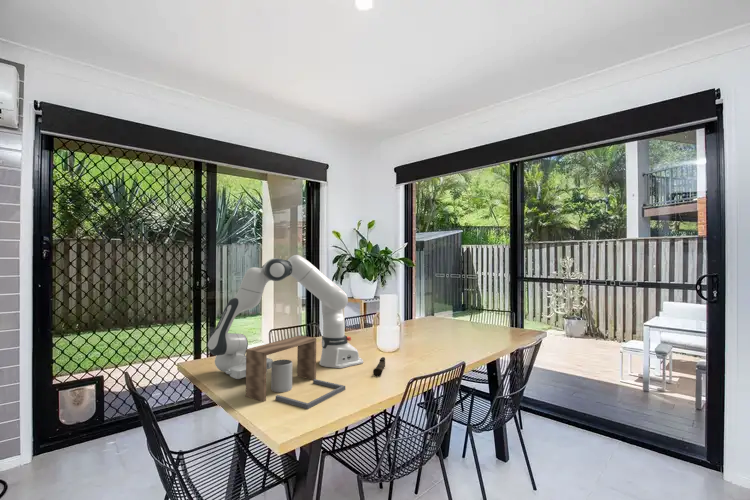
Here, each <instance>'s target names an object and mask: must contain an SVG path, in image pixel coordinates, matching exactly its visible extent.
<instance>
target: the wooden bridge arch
mask: <svg viewBox="0 0 750 500" xmlns="http://www.w3.org/2000/svg"><path fill="white" fill-rule="evenodd" d="M296 347H297V360H296V363H297V366H296V367H297V371H296V372H297V373H296V374H297V375H296V376H297V377H298V378H304V379H308V380H312V381H313V380H314V379H317V337H312V336H306V335H296V336H292V337H288V338H285V339H280V340H276V341H274V342H269V343H265V344H262V345H258V346H254V347H250V348H249V347H248V348H247V349H246V354H245V356H246V377H245V397H246V398H250V399H252V400H256V401H259V402H263V403H264V402H266V401H267V372H266V365H267V358H268V357H267V356H270V355H271V354H272V355H273V354H276V353H280V352H282V351H287V350H290V349H293V348H296Z"/></svg>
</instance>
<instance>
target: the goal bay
mask: <svg viewBox="0 0 750 500" xmlns="http://www.w3.org/2000/svg"><path fill="white" fill-rule="evenodd" d="M312 383H313V384H314V385H318V386H323V387H328V388H331V389H333V390H331V391H329V392H327V393H325V394H323V395H321V396H319V397H317V398H315V399H314V400H313V399H312V400H311V401H309V402H305V401H301V400H298V399H294V398H290V397H286V396H283V395H278V394H277V395H275V401H278V402H281V403H285V404H289V405H291V406H292V405H293V406H295V407H299V408H301V409H302V408H303V409H306V410H309V409H311V408H314V407H315V406H316V405H318V404H320V403H322V402H325V401H326V400H328V399H330V398H332V397H334V396H336V395H338V394H340V393H342V392H343V391H346V385H342V384H338V383H333V382H329V381H325V380H320V379H318V378H316V379H314V380H312Z"/></svg>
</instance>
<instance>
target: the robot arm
mask: <svg viewBox="0 0 750 500" xmlns="http://www.w3.org/2000/svg"><path fill="white" fill-rule="evenodd" d="M289 276H290V277H292V278H293V279H295V280H296V281H297V282H298V283H299V284H300V285H302V286H303V287H304V288H305V289H306V290H307V291H309V293H311V294H312V295H313V296H314V297H316V298H317V299H318V300H319V301H320V302H321V303H320V304H321V312H322V313H321V315H322V336H321V347H322V349H321V357H320V361H319V364H318V365H320V366H322V367H324V368H336V369H343V368H348V367H353V366H356V365H359V364H360V365H361V364H363V363H364V360H363V358H361V357H360V356H359V351H358V349H357V348H356V347H354V346H353V345H352V344H351V343H349V342H351V340H352V337H351V336H348V335H345V333H346V332H345V330H346V329H345V325H346V324H345V321H346V320H345V316H344V309H345V308H346V307H347V305H348V303H349V298H348V295H347V293H346V292H345V291H344V289H342V288H341V287H339V285H337V284H336V283H335V282H334V281H332V280H331V279H330V278H329V277H327V276H326V275H325V274H324V273H322V272H321V271H320V269H318V268H317V267H316V266H315V265H314V264H312V263H311V262H310V261H309V260H307V258H305V257H303V256H302V255H300V254H294V255H291V256H290V257H289V258H288V259H283V258H276V257H275V258H274V257H273V258H271V259H268V260H267V261H266V262H265V263H264V264H263V265H262V266H261V267H257V266H256V267H255V266H253V267H250V268H248V269H246V271H245V273H244V276H243V278H242V279H241V283H240V285H239V288H238V290H237V292H236V294H235V295H234V297H232V298H231V299H230V300H228V302H227V304H226V306H225V308H224V310H223V312H222V314H221V315H220V319H219V320H218V322H217V325H216V326H215V328H214V330H213V332H212V334H211V335H210V336H209V338H208V340H207V349H208V351H209V353H210V354H211V355H213V356H215V358H214V366H215V367H216V368H217V369H218V370H219V371H221V372H223V373H225V374H226V375H229V377H231V378H233V379H236V380H241V379H242V378H246V349H249V347H248V346H249V342H248V341H249V340H248V339H247V336H246V335H245V334H244V333H236V332H235V333H230V332H229V331H230V329H231V326H232V324H233V322H234V320H235V319H236V317H237V316H238V315H239V314H240V313H242V312H246V311H248V310H252V309H254V308H256V307H257V306H258V305H259V304H260V303H261V301H262V298H263V297H262V296H263V293H264V290H265V287H266V285H267V283H269V282H270V281H272V282H279V281H282V280H285V279H286V278H287V277H289ZM273 361H274V360H273V359H272V358H270V357H269V358H268V357H267V365H266V373H267V372H268V370H269V369H271V365H272V362H273Z"/></svg>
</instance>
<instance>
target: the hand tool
mask: <svg viewBox="0 0 750 500" xmlns="http://www.w3.org/2000/svg"><path fill="white" fill-rule="evenodd" d="M384 367H385V368H386V358H385V357H384V356H382V357H380V359H379V362H378V364H377V365H376V367H375V368H374V369H373V371H372V375H373V376H374V375H375V376H374V377H381V376H382V373H383V371H384V369H385V368H384Z"/></svg>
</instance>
